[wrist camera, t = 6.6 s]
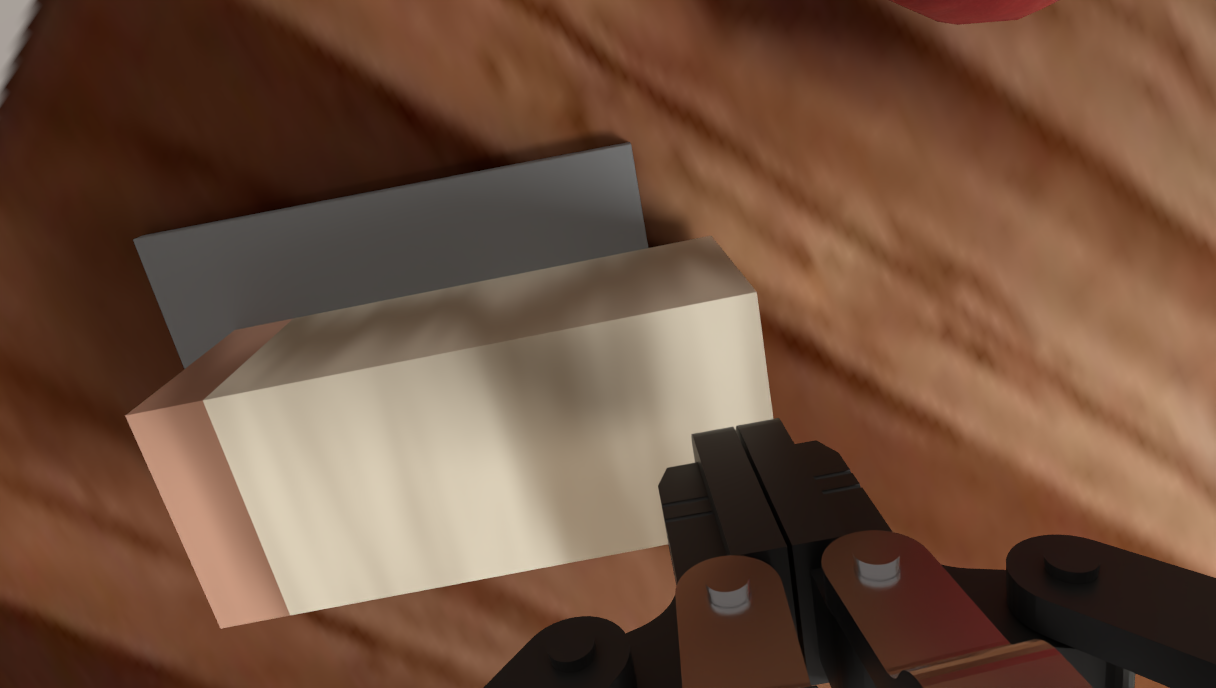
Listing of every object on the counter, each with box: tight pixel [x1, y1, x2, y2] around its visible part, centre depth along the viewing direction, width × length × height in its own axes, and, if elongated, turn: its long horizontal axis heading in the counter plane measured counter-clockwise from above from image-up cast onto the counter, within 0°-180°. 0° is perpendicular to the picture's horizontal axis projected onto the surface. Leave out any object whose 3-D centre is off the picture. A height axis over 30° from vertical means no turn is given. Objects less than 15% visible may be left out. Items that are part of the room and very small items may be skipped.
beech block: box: [125, 236, 773, 628], centre depth 18 cm, size 5×5×12 cm
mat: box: [133, 142, 648, 369], centre depth 20 cm, size 12×11×1 cm
